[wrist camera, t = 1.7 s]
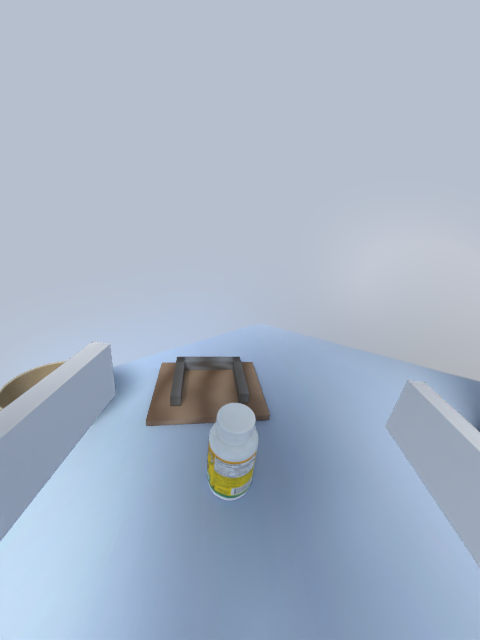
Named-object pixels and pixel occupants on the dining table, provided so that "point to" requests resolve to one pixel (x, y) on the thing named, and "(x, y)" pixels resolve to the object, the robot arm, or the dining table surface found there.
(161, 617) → the dining table surface
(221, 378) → the u rest
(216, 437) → the supplement bottle
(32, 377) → the beige bowl
